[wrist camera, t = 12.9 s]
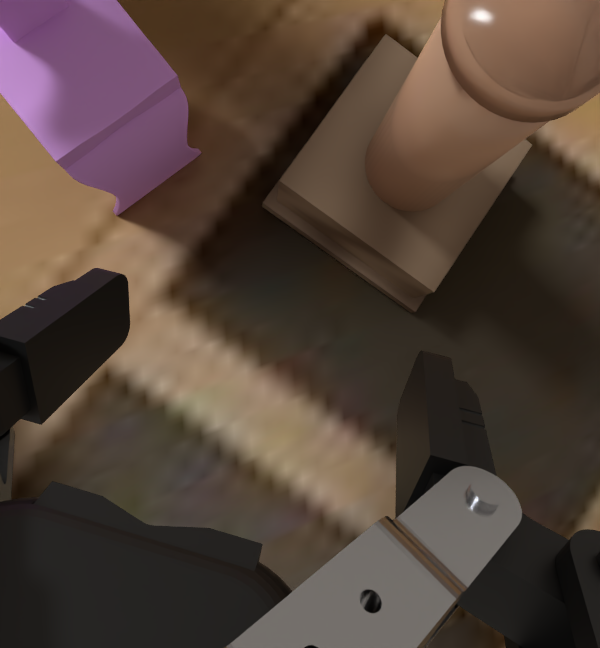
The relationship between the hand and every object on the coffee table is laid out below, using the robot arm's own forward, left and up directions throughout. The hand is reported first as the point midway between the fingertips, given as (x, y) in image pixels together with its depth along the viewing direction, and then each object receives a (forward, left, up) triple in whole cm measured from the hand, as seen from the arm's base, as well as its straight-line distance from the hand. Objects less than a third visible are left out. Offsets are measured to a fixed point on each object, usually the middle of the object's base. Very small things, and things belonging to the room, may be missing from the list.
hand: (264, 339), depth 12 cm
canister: (+1, +12, -10) cm, 16 cm away
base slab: (+1, +12, -14) cm, 19 cm away
